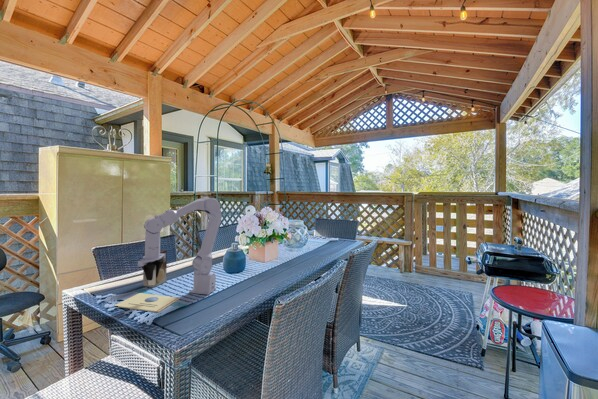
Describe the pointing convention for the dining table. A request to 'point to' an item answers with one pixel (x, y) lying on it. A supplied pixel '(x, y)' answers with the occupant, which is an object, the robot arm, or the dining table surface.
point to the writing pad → (147, 302)
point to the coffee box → (162, 272)
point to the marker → (153, 281)
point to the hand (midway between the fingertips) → (152, 278)
